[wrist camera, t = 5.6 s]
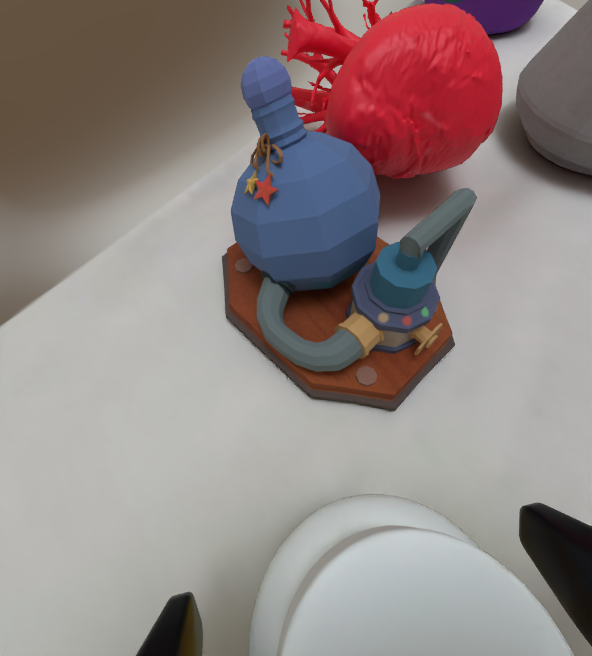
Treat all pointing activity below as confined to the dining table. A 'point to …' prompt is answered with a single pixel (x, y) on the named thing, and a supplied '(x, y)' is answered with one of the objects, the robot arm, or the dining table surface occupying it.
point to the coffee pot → (561, 95)
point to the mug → (496, 12)
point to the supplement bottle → (393, 590)
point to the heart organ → (401, 85)
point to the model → (331, 260)
